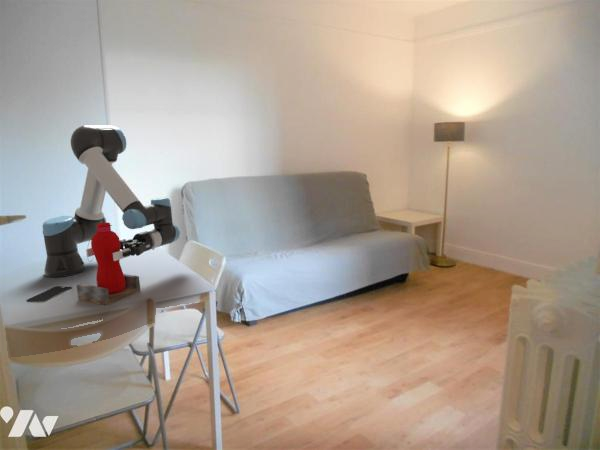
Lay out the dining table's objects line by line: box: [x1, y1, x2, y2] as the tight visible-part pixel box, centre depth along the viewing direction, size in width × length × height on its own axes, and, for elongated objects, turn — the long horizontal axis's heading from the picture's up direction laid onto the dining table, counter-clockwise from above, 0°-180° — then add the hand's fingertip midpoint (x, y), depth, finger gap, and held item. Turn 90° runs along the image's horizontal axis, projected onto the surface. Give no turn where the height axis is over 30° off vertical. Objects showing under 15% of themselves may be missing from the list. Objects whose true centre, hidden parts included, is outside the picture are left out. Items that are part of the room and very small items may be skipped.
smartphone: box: [25, 285, 73, 303], centre depth 151 cm, size 8×1×15 cm
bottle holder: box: [76, 273, 141, 306], centre depth 148 cm, size 14×15×6 cm
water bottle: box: [86, 221, 126, 294], centre depth 145 cm, size 9×11×25 cm
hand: (100, 255), depth 143 cm, fingers open, 13 cm apart
